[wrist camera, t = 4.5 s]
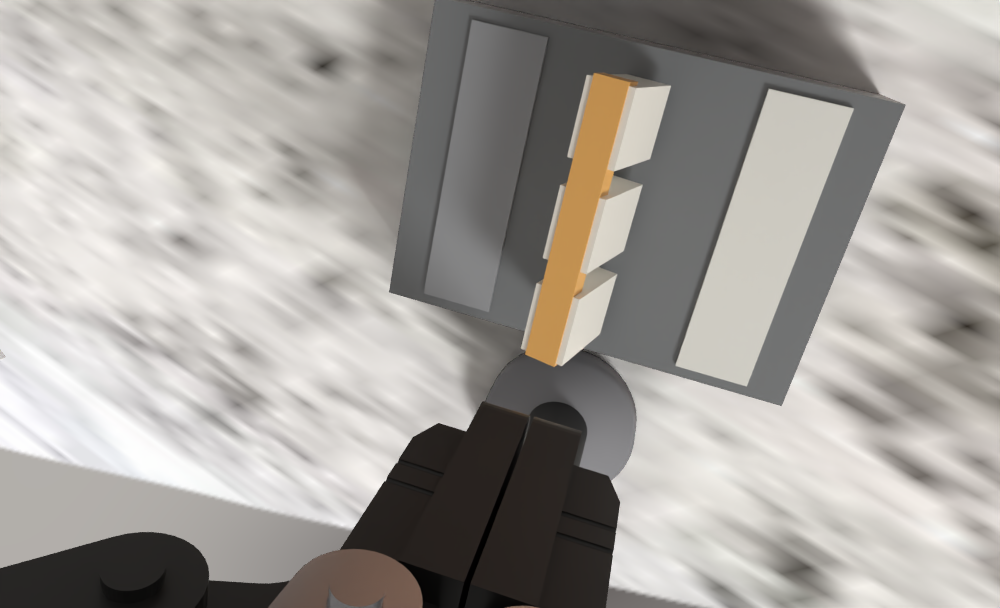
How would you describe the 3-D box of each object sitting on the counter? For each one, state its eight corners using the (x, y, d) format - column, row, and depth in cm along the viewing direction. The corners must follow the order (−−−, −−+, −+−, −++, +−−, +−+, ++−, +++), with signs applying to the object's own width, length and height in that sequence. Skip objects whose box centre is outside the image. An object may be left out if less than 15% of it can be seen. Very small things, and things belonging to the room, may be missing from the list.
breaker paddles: (671, 82, 22) (636, 84, 19) (599, 336, 25) (560, 369, 22) (627, 70, 22) (587, 70, 20) (561, 321, 26) (519, 351, 23)
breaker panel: (880, 94, 24) (907, 105, 21) (772, 367, 28) (781, 407, 25) (462, -2, 26) (433, -4, 23) (416, 266, 30) (387, 293, 27)
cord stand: (654, 371, 29) (586, 1080, 10) (614, 496, 31) (493, 1270, 12) (505, 328, 30) (165, 900, 10) (477, 453, 32) (155, 1111, 13)
